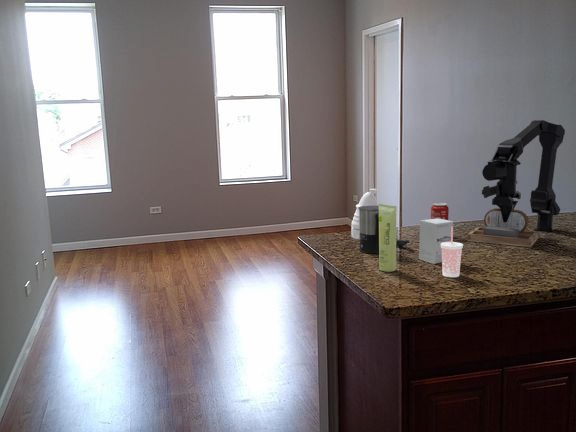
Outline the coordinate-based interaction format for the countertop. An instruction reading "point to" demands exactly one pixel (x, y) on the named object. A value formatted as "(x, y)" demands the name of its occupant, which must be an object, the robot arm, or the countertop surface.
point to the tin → (514, 221)
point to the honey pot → (365, 201)
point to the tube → (387, 238)
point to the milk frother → (371, 230)
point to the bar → (501, 232)
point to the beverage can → (439, 211)
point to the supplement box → (433, 239)
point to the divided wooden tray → (504, 238)
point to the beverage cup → (451, 257)
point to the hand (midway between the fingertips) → (505, 221)
